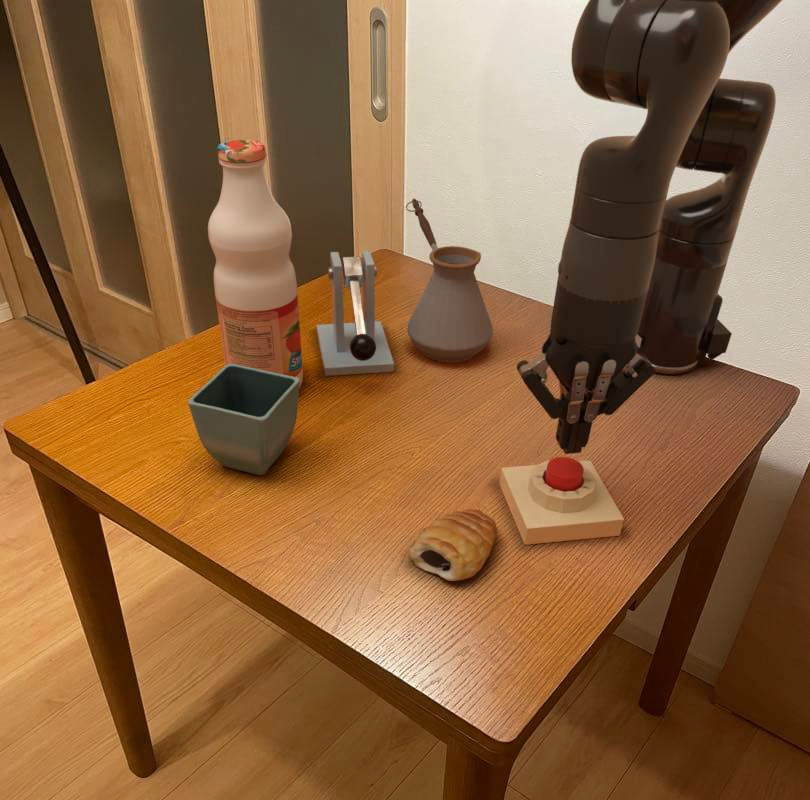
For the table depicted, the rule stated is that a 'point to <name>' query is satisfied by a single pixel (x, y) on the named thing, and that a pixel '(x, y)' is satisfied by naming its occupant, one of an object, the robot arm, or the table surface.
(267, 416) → the flower pot
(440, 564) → the pastry
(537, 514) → the button block
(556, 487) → the button
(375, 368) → the bracket
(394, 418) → the table surface
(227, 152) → the fruit juice
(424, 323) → the coffee pot
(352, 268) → the lever
